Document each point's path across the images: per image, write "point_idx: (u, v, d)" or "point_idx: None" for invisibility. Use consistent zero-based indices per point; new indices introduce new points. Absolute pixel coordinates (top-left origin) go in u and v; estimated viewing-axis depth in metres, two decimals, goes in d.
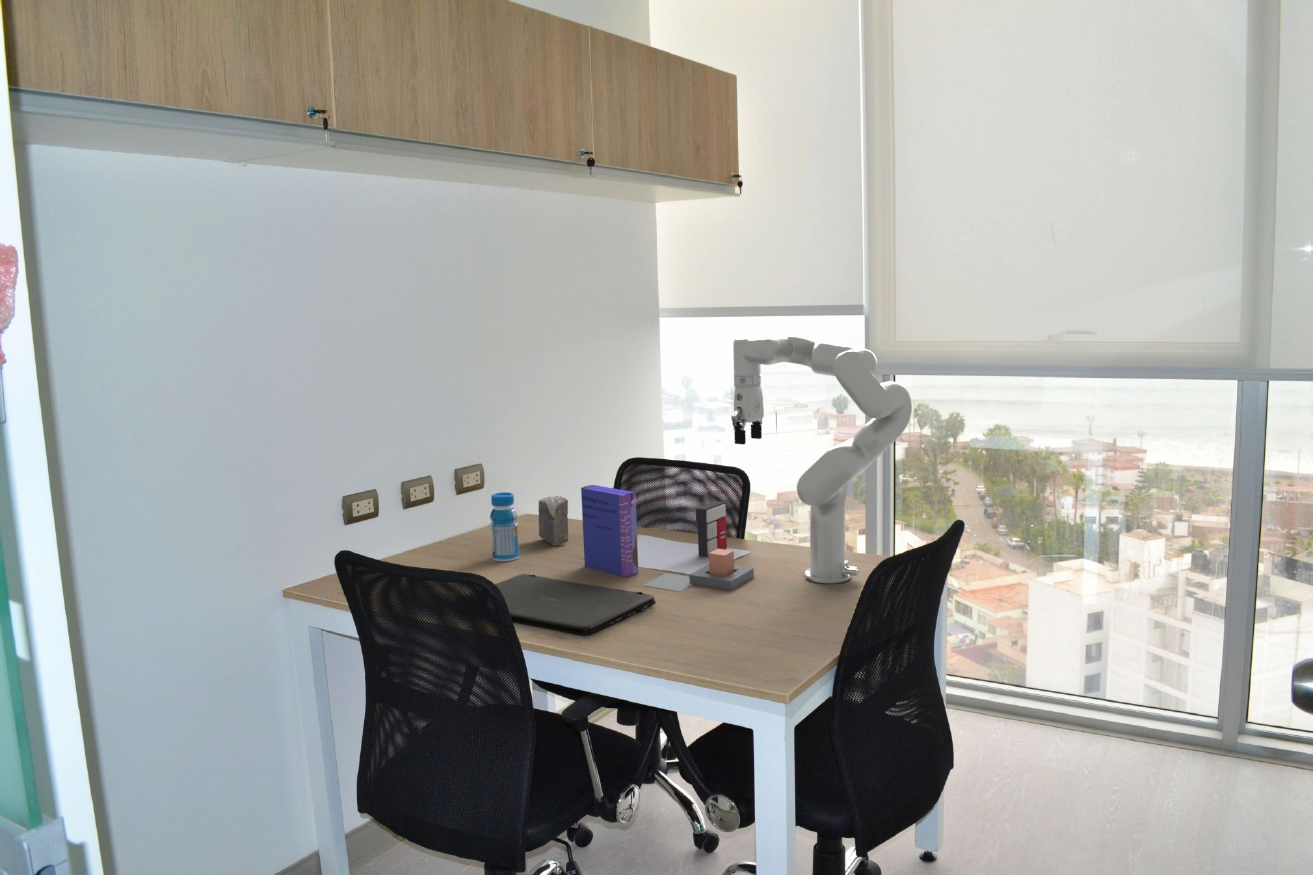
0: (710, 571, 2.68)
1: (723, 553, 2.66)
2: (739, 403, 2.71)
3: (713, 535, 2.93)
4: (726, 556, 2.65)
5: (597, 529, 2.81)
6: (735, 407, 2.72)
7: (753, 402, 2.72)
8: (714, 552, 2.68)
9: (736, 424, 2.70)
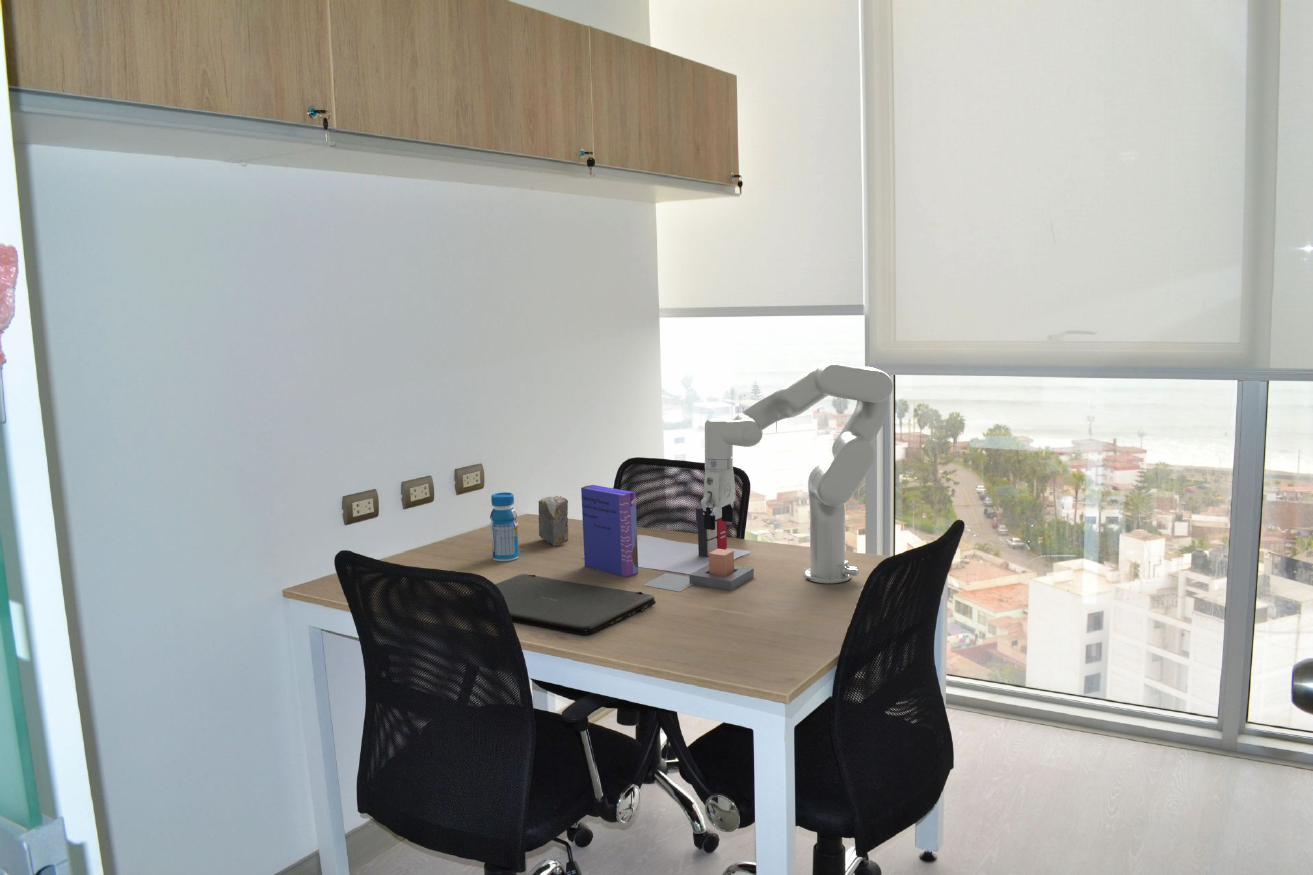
0: (710, 571, 2.68)
1: (723, 553, 2.66)
2: (709, 487, 2.60)
3: (713, 535, 2.93)
4: (726, 556, 2.65)
5: (597, 529, 2.81)
6: (705, 491, 2.61)
7: (724, 486, 2.62)
8: (714, 552, 2.68)
9: (706, 510, 2.59)
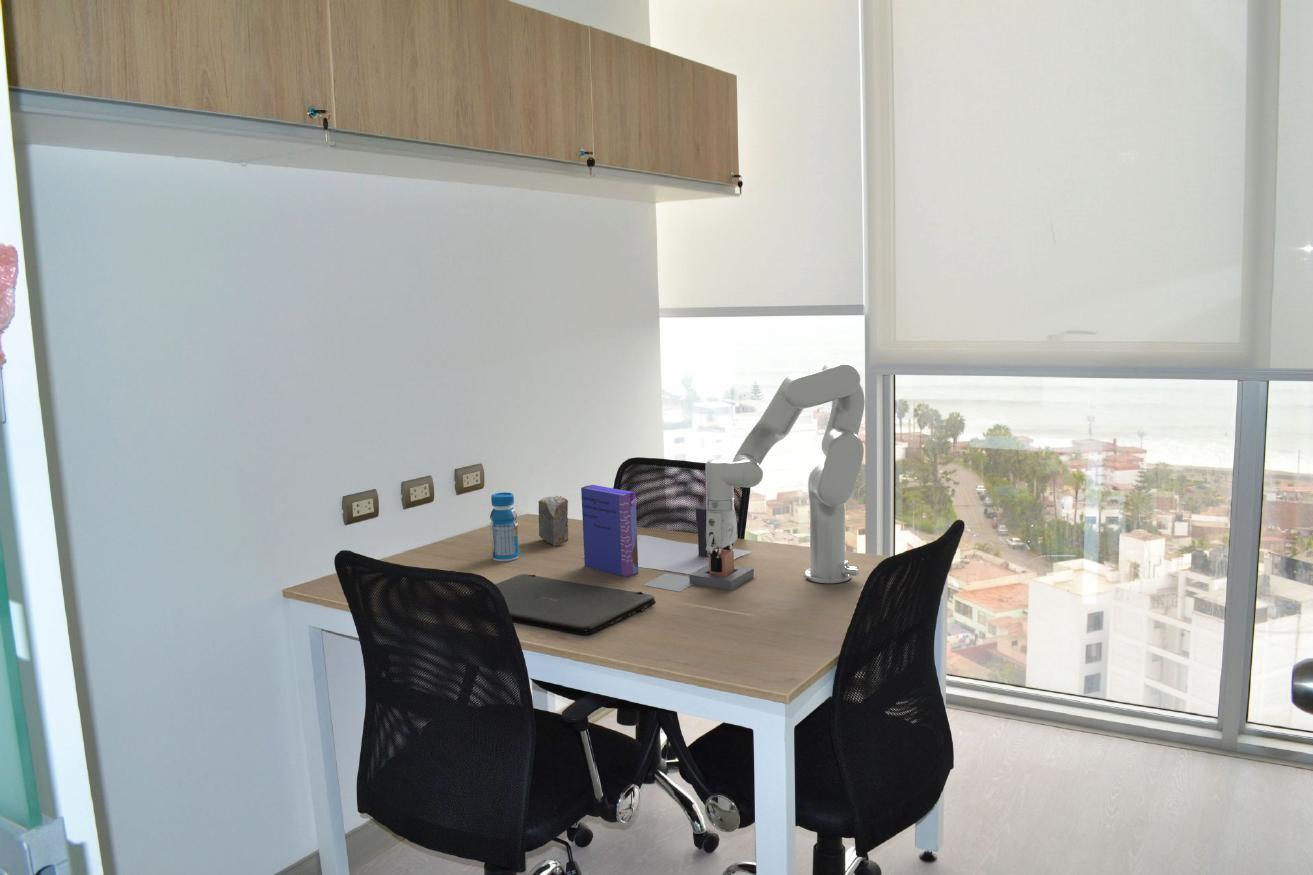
0: (710, 571, 2.68)
1: (723, 553, 2.66)
2: (711, 528, 2.62)
3: None
4: (726, 556, 2.65)
5: (597, 529, 2.81)
6: (707, 532, 2.63)
7: (726, 527, 2.64)
8: None
9: (712, 553, 2.63)
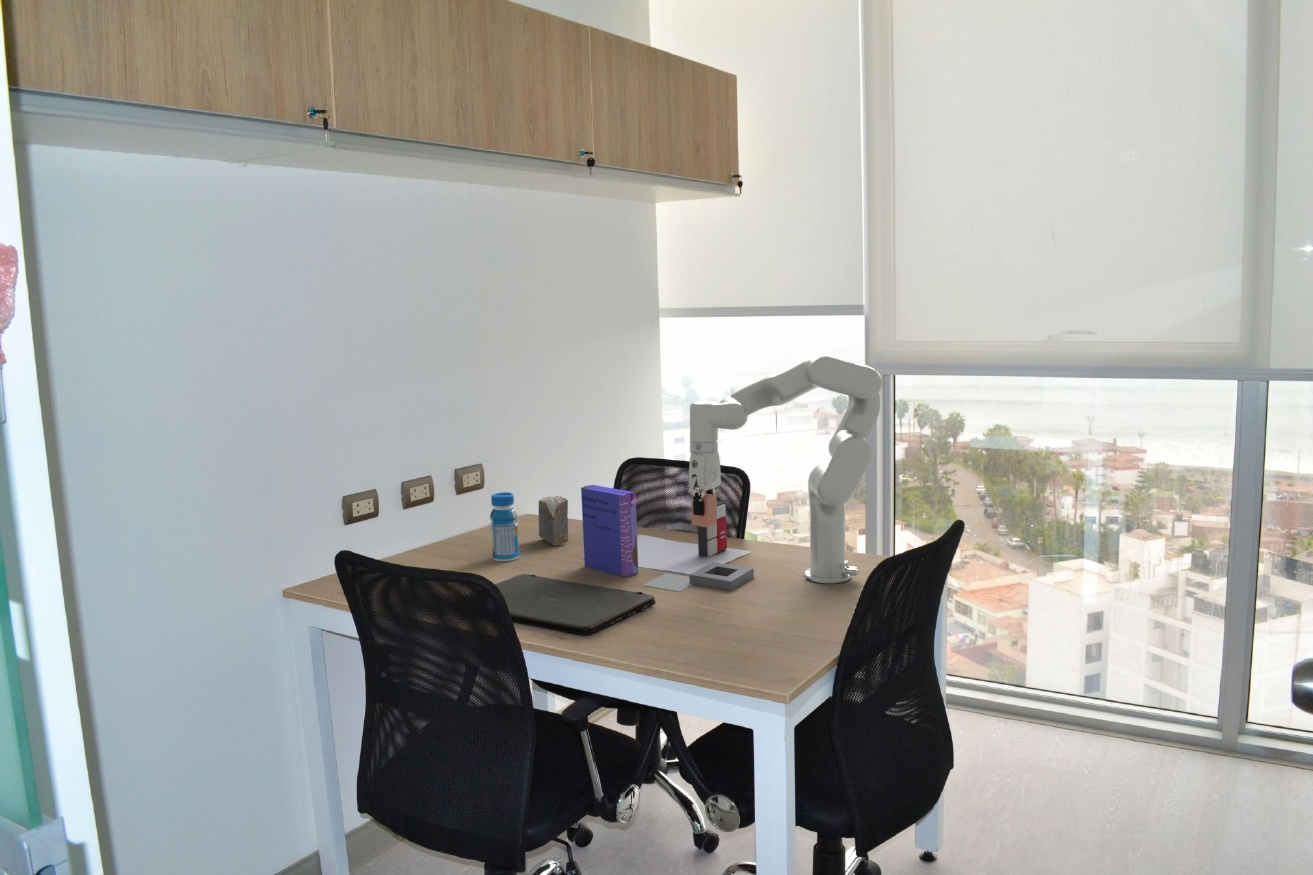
0: (692, 515, 2.65)
1: (706, 496, 2.63)
2: (694, 470, 2.60)
3: (713, 535, 2.93)
4: (709, 499, 2.62)
5: (597, 529, 2.81)
6: (690, 474, 2.60)
7: (709, 470, 2.61)
8: None
9: (694, 495, 2.60)
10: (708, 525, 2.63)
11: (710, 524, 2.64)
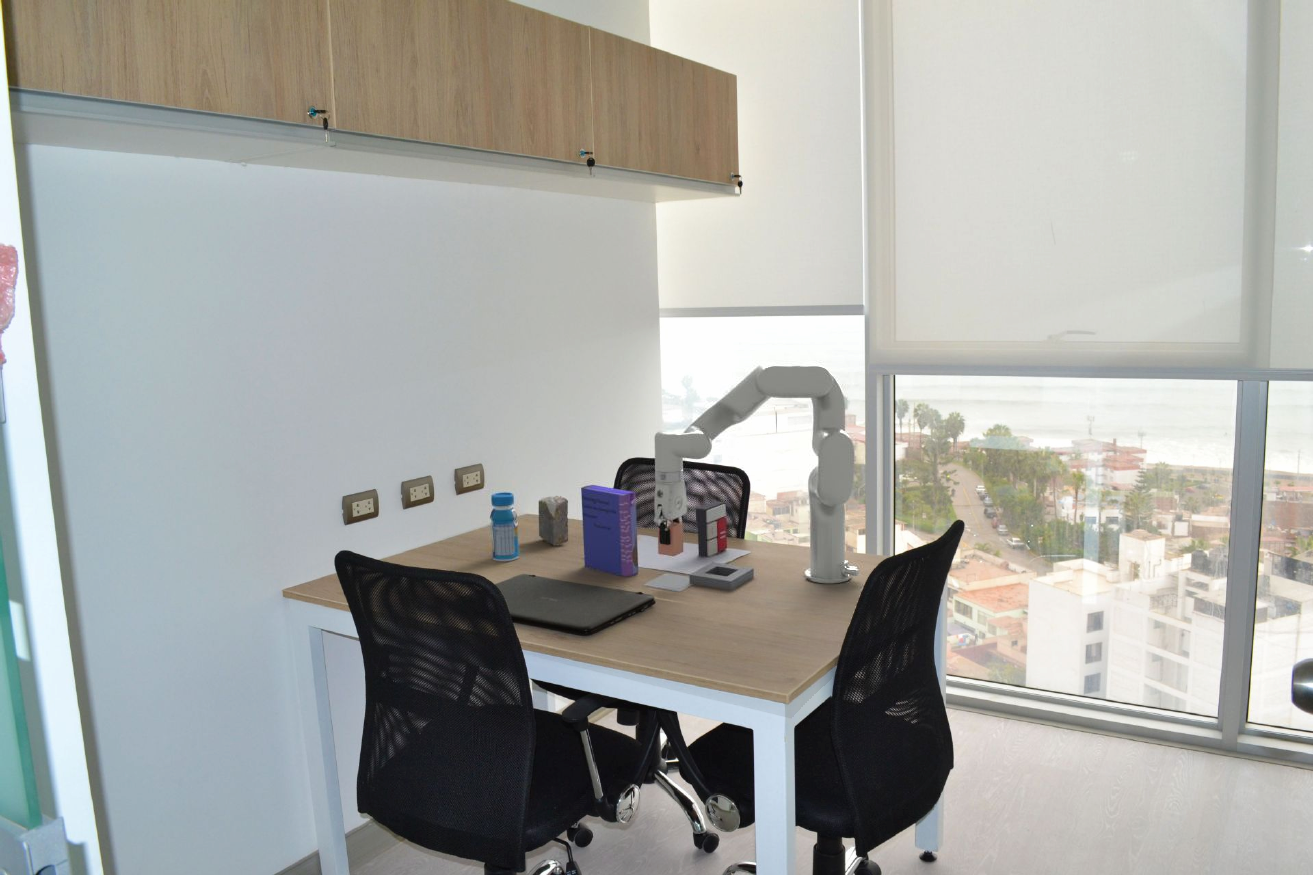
0: (659, 544, 2.66)
1: (672, 525, 2.64)
2: (659, 500, 2.60)
3: (713, 535, 2.93)
4: (675, 528, 2.63)
5: (597, 529, 2.81)
6: (656, 504, 2.61)
7: (675, 499, 2.62)
8: None
9: (660, 525, 2.61)
10: (674, 554, 2.64)
11: (676, 553, 2.65)
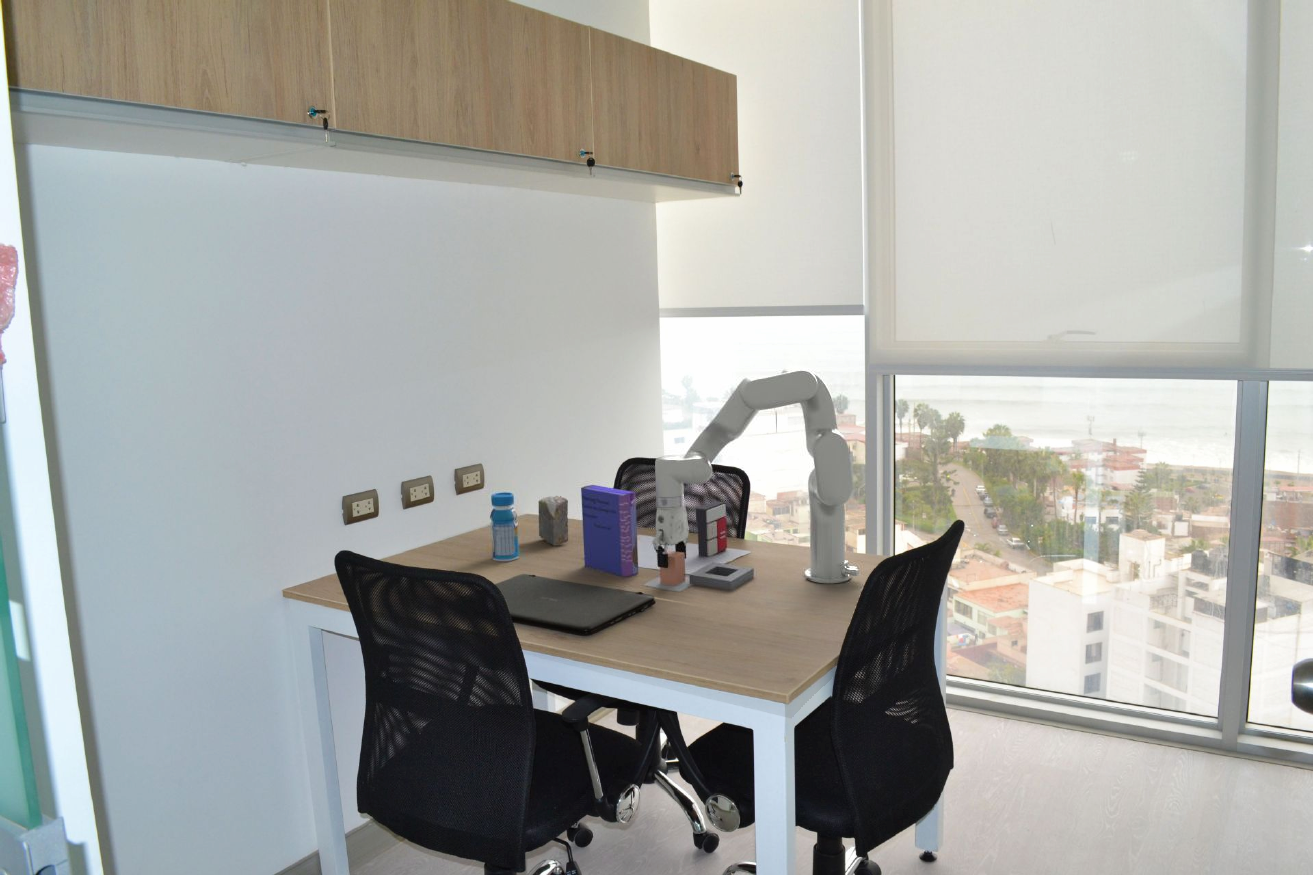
0: (661, 573, 2.67)
1: (674, 555, 2.66)
2: (661, 525, 2.61)
3: (713, 535, 2.93)
4: (676, 558, 2.65)
5: (597, 529, 2.81)
6: (657, 529, 2.62)
7: (676, 524, 2.63)
8: None
9: (658, 548, 2.60)
10: (676, 583, 2.65)
11: (678, 582, 2.66)
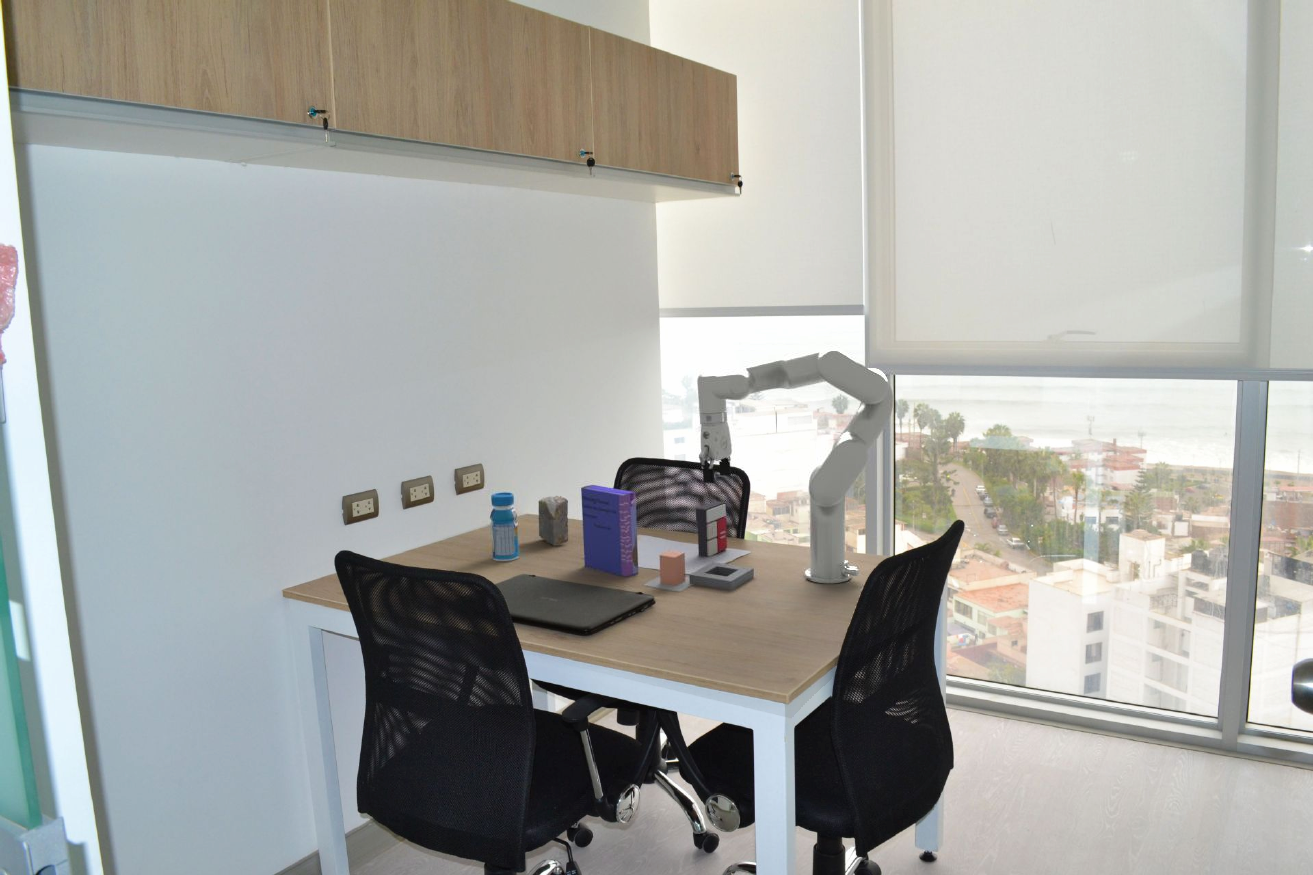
0: (661, 573, 2.67)
1: (674, 555, 2.66)
2: (706, 441, 2.65)
3: (713, 535, 2.93)
4: (676, 558, 2.65)
5: (597, 529, 2.81)
6: (702, 445, 2.66)
7: (721, 440, 2.67)
8: (665, 554, 2.67)
9: (704, 463, 2.64)
10: (676, 583, 2.65)
11: (678, 582, 2.66)
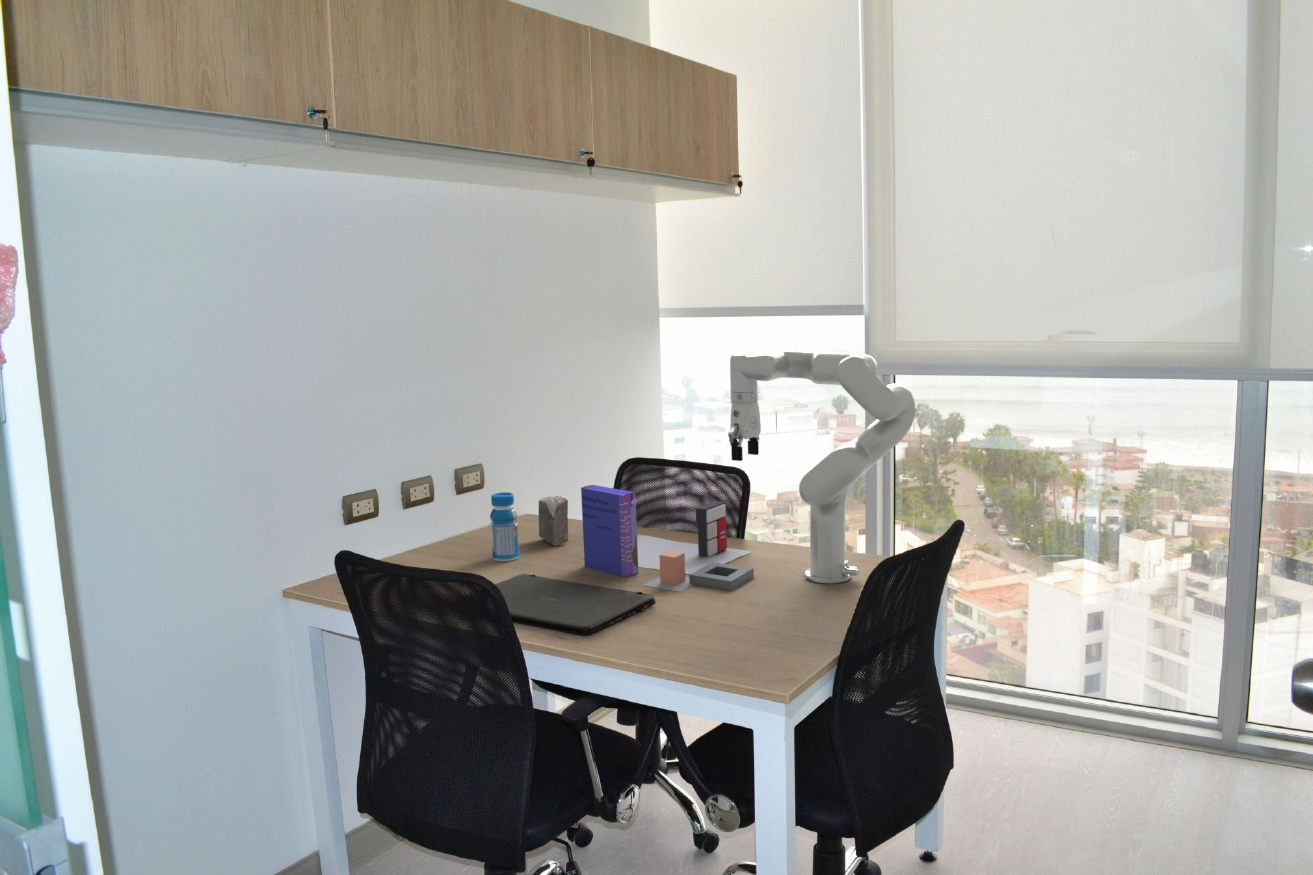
0: (661, 573, 2.67)
1: (674, 555, 2.66)
2: (736, 419, 2.70)
3: (713, 535, 2.93)
4: (676, 558, 2.65)
5: (597, 529, 2.81)
6: (732, 423, 2.71)
7: (750, 419, 2.72)
8: (665, 554, 2.67)
9: (733, 441, 2.69)
10: (676, 583, 2.65)
11: (678, 582, 2.66)
